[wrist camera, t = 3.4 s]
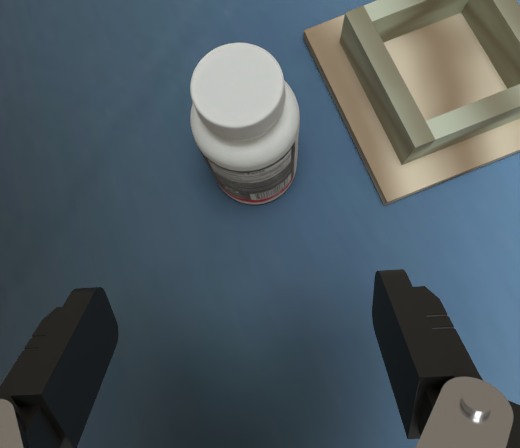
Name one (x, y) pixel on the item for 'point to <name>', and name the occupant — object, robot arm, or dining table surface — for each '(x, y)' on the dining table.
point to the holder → (424, 87)
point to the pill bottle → (245, 122)
